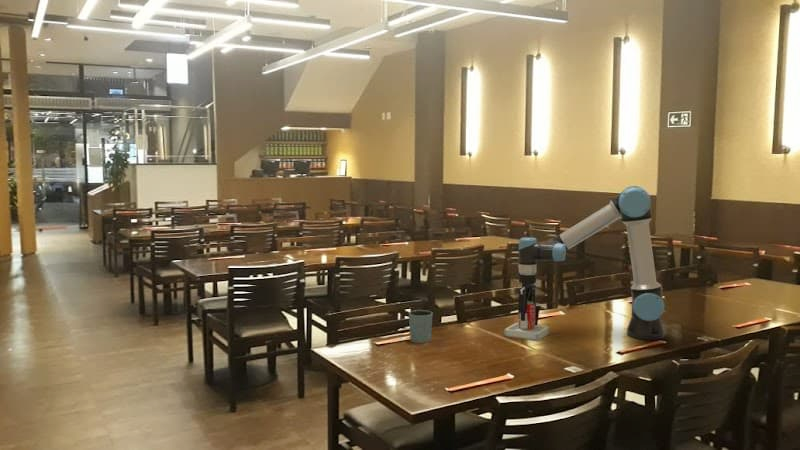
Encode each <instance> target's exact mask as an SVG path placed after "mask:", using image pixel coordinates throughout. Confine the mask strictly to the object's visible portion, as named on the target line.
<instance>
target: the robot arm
mask: <svg viewBox="0 0 800 450" xmlns="http://www.w3.org/2000/svg"><path fill="white" fill-rule="evenodd" d="M651 204H652V200H651V196H650V194H649V193H648V192H647V191H646V190H645V189H644V188H643V187H640V186H635V185H634V186H633V185H632V186H628V187H626V188H625V189H623V190H622V191H621V192H620V193H619V194H618V195H616V196H615V197H613V198H612V199H610V201H609V203H608V204H606V205H605V206H604V207H602V208H600V209H598V210H597V211H595V212H593V213H592V214H591V215H589V216H588V217H586V218H584V219H583V220H581V221H580V222H578V223H576V224H575V225H572V227H569V228H568V229H567V230H565V231H563V232H562V233H560V234H558V235H556V236H555V237H553V238H551V239H550V240H548V241H547V242H538V241H537V238H535V237H521V238H519V241H518V265H517V267H518V273H519V274H518V283H519V284H521V288H519V289H518V307H517V308H518V311H517V313H518V314H519V313H520V328H527V313H526V310H527V303H528V301H532V302H534V305H535V309H536V303H537V301H536V298H537V297H536V288H537V287H536V283H537V261H544V262H545V261H546V262H547V261H548V262H562V261H565V260H566V252H567V251H568V250H570V249H571V248H573V247H575V246H577V245H578V244H580V243H581V242H583V241H585V240H586V239H588V238H590V237H591V236H593V235H594V234H596V233H598V232H599V231H602V230H603V229H604V228H607V227H608V226H610V225H612V224H613V223H615V222H616V221H618V220H621V222H622V223H623V225H625V227H626V231H627V232H626V234H627V239H628V240H627V241H628V248H629V249H628V250H629V255H630V262H631V269H632V277H633V278H632V279H633V284H632V285H631V286H630V291H631V292H630V293H631V317H630V320H629V323H628V326H627V328H626V335H627V336H629V337H630V338H634V339H637V340H647V341H650V340H651V341H654V340H663V339H664V338H665V335H666V334H665V328H664V325H663V323H662V319H661V318H662V317H661V316H663V314H664V311H665V305H666V304H665V302H664V296H663V291H662V290H663V289H662V284H660V283H659V282H658V281H657V276H656V275H657V274H656V267H655V259H654V252H653V245H652V237H651V230H650V222H651V221H652V219H653V216H652V215H653V214H652V208H651V207H652V205H651Z"/></svg>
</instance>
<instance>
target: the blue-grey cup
mask: <svg viewBox="0 0 800 450" xmlns="http://www.w3.org/2000/svg"><path fill="white" fill-rule="evenodd" d="M433 315H434V313H433V312H432V311H431V310H425V309H415V310H411V311H409V312H408V321H409V322H408V323H409V337H410V342H412V343H415V344H424V343H430V342H431V340H432V339H431V336H432V326H433Z"/></svg>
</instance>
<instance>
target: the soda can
mask: <svg viewBox="0 0 800 450" xmlns="http://www.w3.org/2000/svg"><path fill="white" fill-rule="evenodd" d="M526 313H527V328H520V313H518V323H519V328H520V329H521V330H523V331H532V330H533V329H535V305H534V302H532V301H528V303H527V310H526Z"/></svg>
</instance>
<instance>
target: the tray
mask: <svg viewBox="0 0 800 450" xmlns="http://www.w3.org/2000/svg"><path fill="white" fill-rule="evenodd" d="M503 330H504V331H503V333H504V334H503V336H504V337H506V338H507V337H508V338H514V339H521V340H526V341H527V340H528V341H533V342H534V341H535V342H539V341H540V340H541V339H543V338H545V337H547V336H548V335H549V334H550V326H546V325H535V329H533V330H532V331H523V330H521V329H520V328H519V322H515V323H514V324H511V325H509V326H508V327H506V328H504V329H503Z"/></svg>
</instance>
